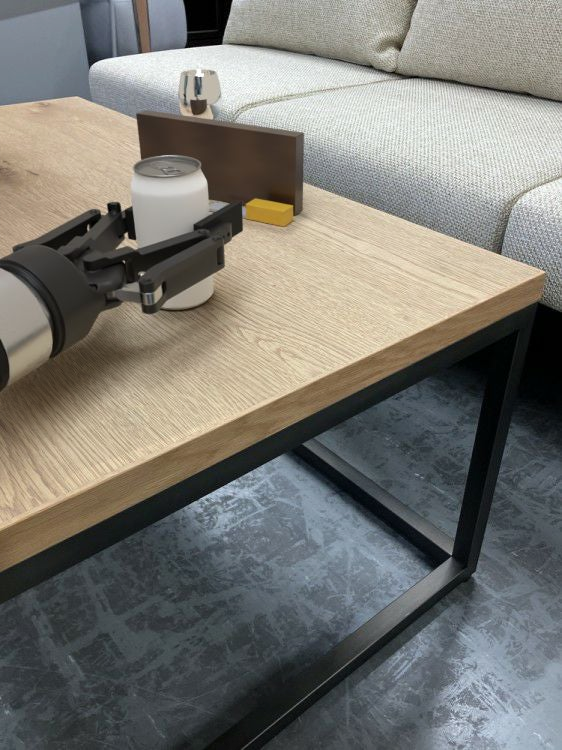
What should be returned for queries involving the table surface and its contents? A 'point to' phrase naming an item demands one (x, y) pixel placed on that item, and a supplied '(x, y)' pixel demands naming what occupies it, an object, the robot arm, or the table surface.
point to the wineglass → (200, 94)
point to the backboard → (230, 156)
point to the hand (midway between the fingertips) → (205, 209)
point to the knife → (263, 211)
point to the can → (171, 211)
